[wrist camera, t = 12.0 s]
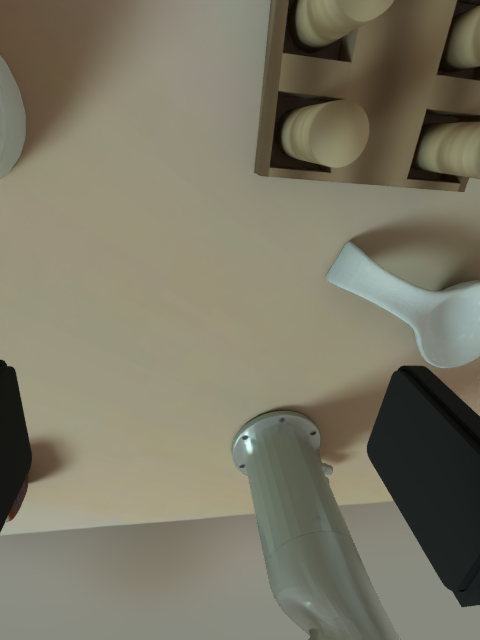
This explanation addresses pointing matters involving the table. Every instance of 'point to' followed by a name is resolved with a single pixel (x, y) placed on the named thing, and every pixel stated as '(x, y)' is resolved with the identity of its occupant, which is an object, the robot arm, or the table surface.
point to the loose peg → (324, 133)
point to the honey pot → (10, 120)
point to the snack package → (18, 501)
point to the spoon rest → (417, 307)
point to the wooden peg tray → (381, 86)
